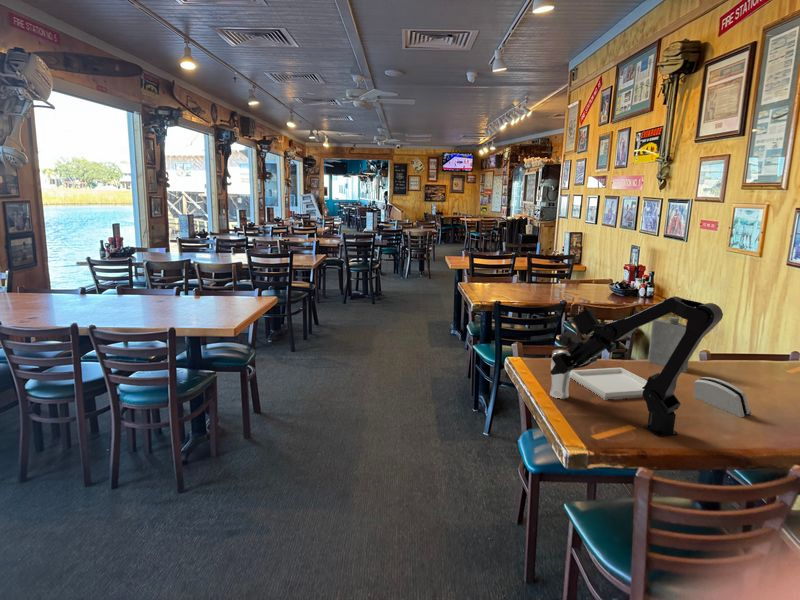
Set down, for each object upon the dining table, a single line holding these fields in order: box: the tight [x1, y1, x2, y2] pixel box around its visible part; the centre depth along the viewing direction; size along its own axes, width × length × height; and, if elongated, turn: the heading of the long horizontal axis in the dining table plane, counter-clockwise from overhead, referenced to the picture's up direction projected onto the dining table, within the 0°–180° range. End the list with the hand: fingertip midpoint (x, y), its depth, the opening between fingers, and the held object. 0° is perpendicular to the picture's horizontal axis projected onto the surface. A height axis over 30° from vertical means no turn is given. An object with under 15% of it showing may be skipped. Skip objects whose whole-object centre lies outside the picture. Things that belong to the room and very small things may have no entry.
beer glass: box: [549, 349, 574, 400], centre depth 167 cm, size 7×7×15 cm
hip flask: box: [647, 316, 689, 374], centre depth 200 cm, size 16×4×20 cm, turn 29°
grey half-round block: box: [693, 376, 753, 418], centre depth 162 cm, size 17×5×10 cm, turn 21°
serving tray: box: [571, 367, 648, 401], centre depth 179 cm, size 22×22×2 cm
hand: (557, 371), depth 168 cm, fingers closed on beer glass, 7 cm apart
